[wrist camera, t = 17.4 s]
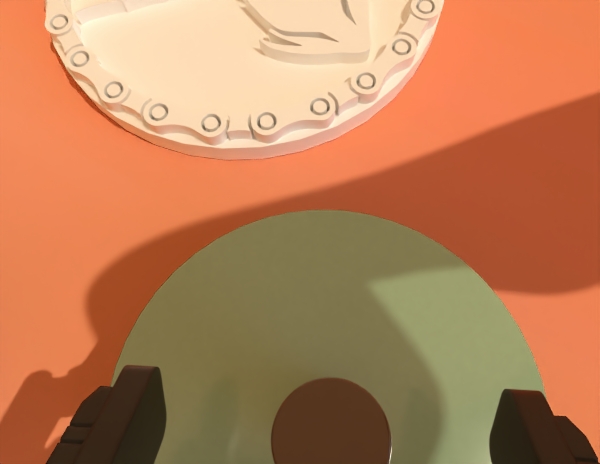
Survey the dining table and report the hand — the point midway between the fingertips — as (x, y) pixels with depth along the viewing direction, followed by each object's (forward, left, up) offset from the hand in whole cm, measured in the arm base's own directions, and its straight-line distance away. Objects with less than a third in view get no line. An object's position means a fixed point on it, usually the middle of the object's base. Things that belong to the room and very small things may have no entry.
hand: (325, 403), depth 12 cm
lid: (+1, 0, -6) cm, 6 cm away
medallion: (-19, -17, -12) cm, 28 cm away
